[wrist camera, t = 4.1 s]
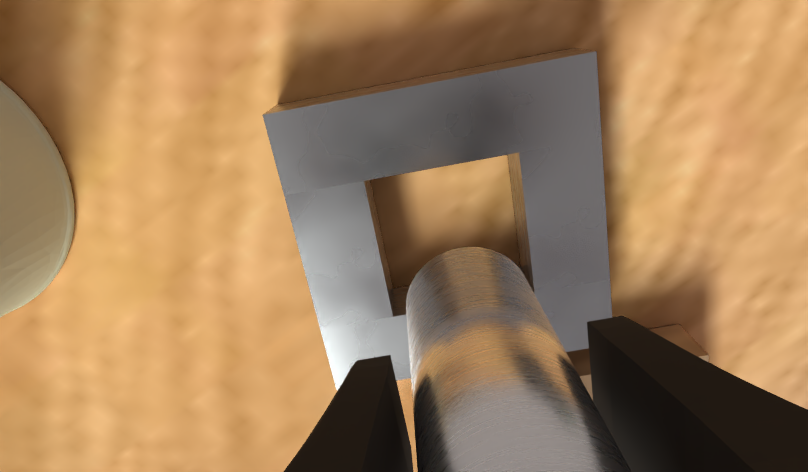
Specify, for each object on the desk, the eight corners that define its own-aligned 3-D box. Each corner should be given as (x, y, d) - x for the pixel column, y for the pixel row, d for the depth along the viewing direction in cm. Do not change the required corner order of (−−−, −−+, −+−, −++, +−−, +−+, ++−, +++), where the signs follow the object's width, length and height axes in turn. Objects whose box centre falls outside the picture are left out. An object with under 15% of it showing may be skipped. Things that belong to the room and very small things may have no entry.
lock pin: (539, 215, 12) (795, 535, 5) (555, 358, 13) (774, 792, 6) (373, 246, 12) (354, 606, 5) (404, 384, 13) (427, 843, 6)
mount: (573, 48, 17) (596, 51, 15) (593, 313, 20) (613, 344, 18) (276, 105, 17) (262, 114, 15) (341, 356, 20) (336, 390, 18)
